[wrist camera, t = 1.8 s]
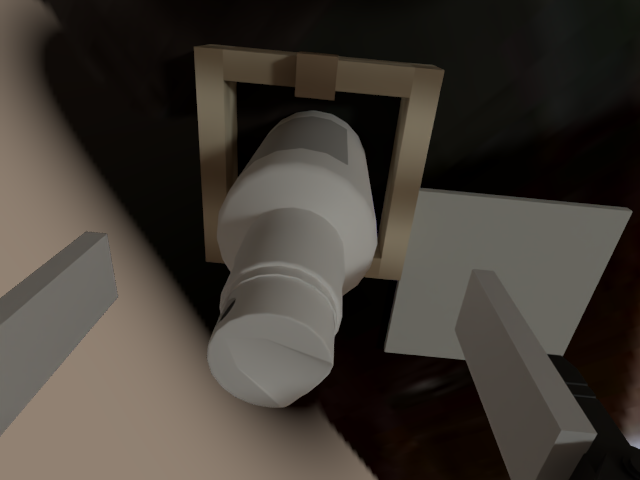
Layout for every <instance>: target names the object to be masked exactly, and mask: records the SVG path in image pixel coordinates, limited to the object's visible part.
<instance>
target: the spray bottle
mask: <svg viewBox="0 0 640 480" xmlns="http://www.w3.org/2000/svg"><path fill="white" fill-rule="evenodd" d="M217 241H218V245H219V248H220V252H221V256H222V259H223V261H224V262H225V264H226V265H227V267H228V269H229V270H230V272H231V273H230V276H229V278H228V280H227V282H226V284H225V286H224V289H223V291H222V293H221V300H220V312H221V314H220V317H219V319H218V321H217V324H216V326H215V329H214V331H213V334H212V336H211V338H210V340H209V343H208V351H207V361H208V364H209V367H210V370H211V373H212V375H213V376H214V378H215V379H216V380H217V382H218V383H219V384H220V385H221V387H222V388H224V389H225V390H227V391H228V392H229V393H231V394H232V395H233V396H235V397H236V398H239V399H241V400H244V401H246V402H249V403H251V404H254V405H260V406H265V407H286V406H288V405H289V404H291V403H292V402H294V401H295V400H297V399H298V398H299V397H301V396H302V395H304V394H307V393H308V392H309V391H310V390H312V389H313V388H314V387H315V386H317V385H318V384H319V383H320V382H321V381H322V380H323V379H324V378H325V377H326V376H327V375H328V374H329V373H330V371H331V369H332V367H333V359H334V336H335V334H336V333H337V332H338V329H339V326H340V322H341V319H342V296H343V295H344V294H345V293H347V292H348V291H350V290H351V289H352V288H354V287H355V286H357V285H358V283H359V282H360V281H361V279H362V278H363V276H364V275H365V274H366V272H367V271H368V270H369V268H370V266H371V264H372V260H373V257H374V254H375V250H376V247H377V228H376V217H375V211H374V205H373V199H372V193H371V187H370V181H369V175H368V169H367V163H366V157H365V151H364V149H363V146H362V144H361V142H360V139H359V137H358V135H357V134H356V133H355V132H354V131H353V129H352V128H351V127H350V126H349V125H348V124H347V123H346V122H344V121H343V120H341V119H339V118H338V117H336V116H334V115H332V114H329V113H325V112H320V111H315V110H313V111H305V112H297V113H295V114H293V115H291V116H289V117H286V118H284V119H282V120H281V121H280V122H279V123H278V124H277V125H276V126H275V127H274V128H273V129H272V130H271V131H270V132H269V133H268V135H267V136H266V138H265V139H264V141H263V142H262V144H261V145H260V146H259V148H258V149H257V151H256V152H255V154H254V155H253V157H252V158H251V160H250V161H249V162H248V164H247V165H246V167H245V168H244V170H243V171H242V173H241V174H240V175H239V177H238V178H237V180H236V181H235V183H234V184H233V186H232V187H231V189H230V190H229V192H228V194H227V196H226V198H225V200H224V202H223V204H222V206H221V208H220V210H219V214H218V226H217Z"/></svg>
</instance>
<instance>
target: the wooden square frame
mask: <svg viewBox="0 0 640 480" xmlns="http://www.w3.org/2000/svg"><path fill="white" fill-rule="evenodd" d="M194 59H195V76H196V94H197V112H198V128H199V146H200V164H201V182H202V200H203V216H204V217H203V218H204V235H205V253H206V262H215V263H225V262H224V261H223V259H222V256H221V252H220V248H219V245H218V241H217V226H218V214H219V210H220V208H221V206H222V204H223V202H224V200H225V198H226V196H227V194H228V192H229V190H230V189H231V187H232V186H233V184H234V183H235V181H236V180H237V178H238V158H237V82H247V83H257V84H268V85H278V86H289V87H295V97H304V98H315V99H325V100H334V98H335V91H342V92H352V93H363V94H373V95H384V96H395V97H402V98H401V104H400V110H399V116H398V121H397V127H396V133H395V139H394V145H393V151H392V157H391V163H390V169H389V175H388V181H387V187H386V193H385V198H384V204H383V210H382V216H381V222H380V228H379V234H378V238H377V247H376V250H375V254H374V257H373V260H372V264H371V266H370V268H369V270H368V271H367V272H366V274H365V275H364V276H363V277H369V278H380V279H390V280H401V275H402V271H403V266H404V261H405V256H406V251H407V247H408V242H409V237H410V232H411V228H412V223H413V218H414V213H415V208H416V204H417V199H418V194H419V189H420V185H421V180H422V175H423V170H424V166H425V161H426V156H427V151H428V146H429V142H430V137H431V132H432V127H433V123H434V118H435V113H436V108H437V104H438V99H439V94H440V89H441V84H442V80H443V75H444V70H443V69H440V68H438V67H436V66H434V65H425V64H415V63H404V62H393V61H383V60H372V59H362V58H351V57H340V56H339V55H333V54H322V53H312V52H301V51H300V52H287V51H277V50H266V49H255V48H245V47H234V46H224V45H213V44H209V45H202V46H195V47H194Z"/></svg>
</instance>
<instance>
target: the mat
mask: <svg viewBox="0 0 640 480" xmlns="http://www.w3.org/2000/svg"><path fill="white" fill-rule="evenodd" d="M631 214H632V211H631V210H630V209H628V208H624V207H614V206H604V205H593V204H583V203H572V202H562V201H552V200H541V199H531V198H520V197H510V196H500V195H489V194H479V193H468V192H458V191H447V190H437V189H427V188H420V189H419V194H418V199H417V204H416V208H415V213H414V218H413V223H412V228H411V232H410V237H409V242H408V247H407V251H406V256H405V261H404V266H403V271H402V275H401V280H398V281H397V286H396V291H395V296H394V300H393V305H392V310H391V315H390V320H389V325H388V330H387V335H386V339H385V344H384V351H385V352H391V353H402V354H412V355H422V356H432V357H442V358H452V359H462V360H466V359H465V356H464V354H463V351H462V348H461V346H460V343H459V340H458V338H457V335H456V333H455V330H454V329H455V326H456V323H457V319H458V316H459V313H460V309H461V306H462V302H463V299H464V296H465V292H466V289H467V286H468V282H469V279H470V275H471V272H472V269H479V270H489V271H494V272H495V274H496V275H497V277H498V278H499V280H500V281H501V283H502V285H503V286H504V288H505V289H506V291H507V292H508V294H509V296H510V297H511V299H512V300H513V302H514V303H515V305H516V307H517V308H518V310H519V311H520V313H521V314H522V316H523V318H524V319H525V321H526V322H527V324H528V325H529V327H530V329H531V330H532V332H533V333H534V335H535V336H536V338H537V340H538V341H539V343H540V344H541V346H542V347H543V349H544V351H545V352H546V354H553V355H561V356H563V354H564V352H565V350H566V348H567V346H568V344H569V342H570V340H571V338H572V336H573V334H574V331H575V329H576V327H577V325H578V323H579V321H580V319H581V317H582V315H583V313H584V311H585V309H586V307H587V305H588V303H589V300H590V298H591V296H592V294H593V292H594V290H595V288H596V286H597V284H598V282H599V280H600V278H601V276H602V274H603V271H604V269H605V267H606V265H607V263H608V261H609V259H610V257H611V255H612V253H613V251H614V249H615V247H616V245H617V243H618V240H619V238H620V236H621V234H622V232H623V230H624V228H625V226H626V224H627V222H628V220H629V218H630V216H631Z"/></svg>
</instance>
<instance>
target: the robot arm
mask: <svg viewBox="0 0 640 480" xmlns="http://www.w3.org/2000/svg"><path fill="white" fill-rule="evenodd" d="M117 298H118V294H117V288H116V282H115V276H114V271H113V265H112V259H111V253H110V247H109V241H108V236H107V234H106V233H95V232H85V233H84V234H82V235H81V236H80V237H78V238H77V239H76V240H74V241H73V242H72V243H71V244H69V245H68V246H67V247H65V248H64V249H63V250H62V251H60V252H59V253H58V254H56V255H55V256H54V257H53V258H51V259H50V260H49V261H47V262H46V263H45V264H44V265H42V266H41V267H40V268H39V269H37V270H36V271H35V272H33V273H32V274H31V275H29V276H28V277H27V278H26V279H24V280H23V281H22V282H21V283H19V284H18V285H17V286H15V287H14V288H13V289H12V290H10V291H9V292H8V293H6V295H4V296H3V297H1V298H0V436H1V435H2V434H3V432H4V431H5V430H6V429H7V427H8V426H9V425H10V424H11V423H12V422H13V421H14V419H15V418H16V417H17V416H18V415H19V413H20V412H21V411H22V410H23V409H24V408H25V406H26V405H27V404H28V403H29V402H30V400H31V399H32V398H33V397H34V396H35V395H36V393H37V392H38V391H39V390H40V389H41V387H42V386H43V385H44V384H45V383H46V382H47V380H48V379H49V378H50V377H51V376H52V374H53V373H54V372H55V371H56V370H57V369H58V367H59V366H60V365H61V364H62V363H63V361H64V360H65V359H66V358H67V357H68V356H69V354H70V353H71V352H72V351H73V350H74V348H75V347H76V346H77V345H78V343H80V341H81V340H82V339H83V338H84V337H85V335H86V334H87V333H88V332H89V331H90V329H91V328H92V327H93V326H94V325H95V324H96V322H97V321H98V320H99V319H100V318H101V316H102V315H103V314H104V313H105V312H106V311H107V309H108V308H109V307H110V306H111V305H112V303H113V302H114V301H115V300H116V299H117ZM454 330H455V333H456V335H457V338H458V340H459V343H460V346H461V348H462V351H463V354H464V356H465V359H466V362H467V364H468V367H469V370H470V372H471V375H472V378H473V380H474V383H475V385H476V388H477V391H478V393H479V396H480V399H481V401H482V404H483V407H484V409H485V412H486V415H487V417H488V420H489V423H490V425H491V428H492V430H493V433H494V436H495V438H496V441H497V444H498V446H499V449H500V452H501V454H502V457H503V460H504V462H505V465H506V468H507V470H508V473H509V475H510V478H511V480H640V449H638V448H636V447H633V446H630V444H629V443H628V441H627V440H626V438H625V437H624V436H623V434H622V433H621V431H620V430H619V428H618V427H617V426H616V424H615V423H614V421H613V420H612V418H611V417H610V415H609V414H608V413H607V411H606V410H605V408H604V407H603V405H602V404H601V403H600V401H599V400H598V399H596V395H595V394H594V393H593V391H592V390H591V388H590V387H588V386H587V383H586V381H585V380H584V378H583V377H582V375H581V374H580V372H579V371H578V370H577V369H576V368H575V367H574V366H573V365H572V364H571V363H569V362H568V361H567V360H566V359H565V358H564V357H562V356H561V355H553V354H546V352H545V351H544V349H543V347H542V346H541V344H540V343H539V341H538V340H537V338H536V336H535V335H534V333H533V332H532V330H531V329H530V327H529V325H528V324H527V322H526V321H525V319H524V318H523V316H522V314H521V313H520V311H519V310H518V308H517V307H516V305H515V303H514V302H513V300H512V299H511V297H510V296H509V294H508V292H507V291H506V289H505V288H504V286H503V285H502V283H501V281H500V280H499V278H498V277H497V275H496V274H495V272H494V271H489V270H479V269H472V272H471V275H470V279H469V282H468V286H467V289H466V292H465V296H464V299H463V302H462V306H461V309H460V313H459V316H458V319H457V323H456V326H455V329H454Z"/></svg>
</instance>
